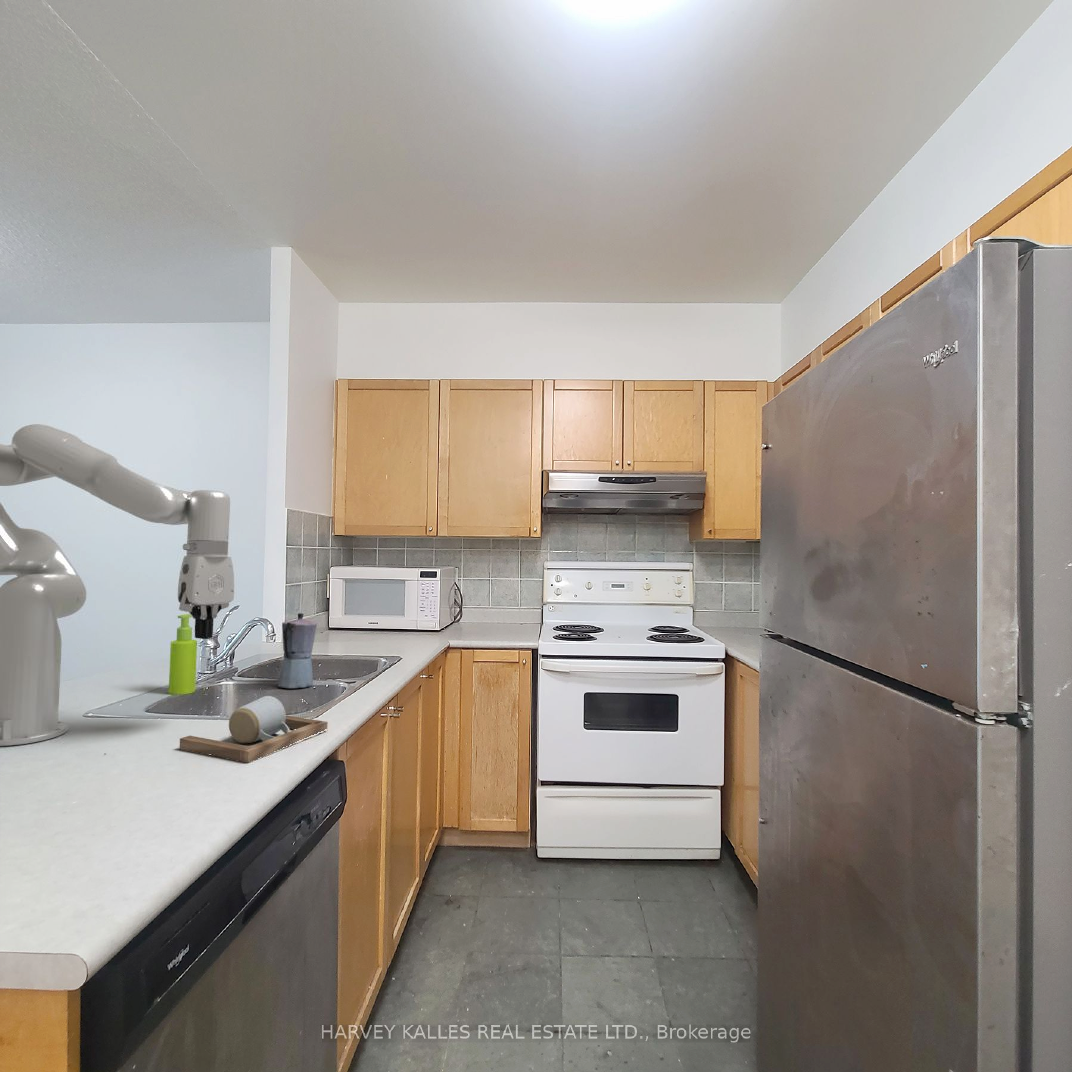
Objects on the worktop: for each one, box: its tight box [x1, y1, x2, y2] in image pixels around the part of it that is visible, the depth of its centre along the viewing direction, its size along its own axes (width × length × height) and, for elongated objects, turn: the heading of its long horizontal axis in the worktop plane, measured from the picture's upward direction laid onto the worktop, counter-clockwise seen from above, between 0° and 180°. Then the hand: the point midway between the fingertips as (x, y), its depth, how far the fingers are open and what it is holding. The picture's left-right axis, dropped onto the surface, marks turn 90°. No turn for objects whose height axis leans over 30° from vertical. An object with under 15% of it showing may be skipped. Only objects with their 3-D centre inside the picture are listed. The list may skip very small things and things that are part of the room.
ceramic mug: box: [228, 695, 291, 745], centre depth 115 cm, size 11×8×8 cm
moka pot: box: [277, 612, 318, 689], centre depth 159 cm, size 10×15×20 cm, turn 2°
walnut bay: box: [179, 714, 328, 763], centre depth 114 cm, size 20×17×2 cm
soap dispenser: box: [168, 613, 198, 696], centre depth 151 cm, size 6×7×20 cm
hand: (203, 637), depth 120 cm, fingers closed
